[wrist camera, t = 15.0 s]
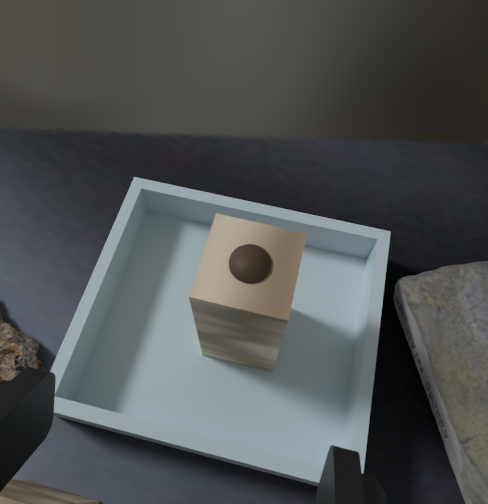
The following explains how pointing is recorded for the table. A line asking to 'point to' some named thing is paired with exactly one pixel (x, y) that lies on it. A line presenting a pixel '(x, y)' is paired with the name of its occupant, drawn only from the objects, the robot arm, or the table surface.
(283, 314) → the block
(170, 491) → the table surface
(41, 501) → the block
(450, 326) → the fossil
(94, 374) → the tray
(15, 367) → the mineral rock
